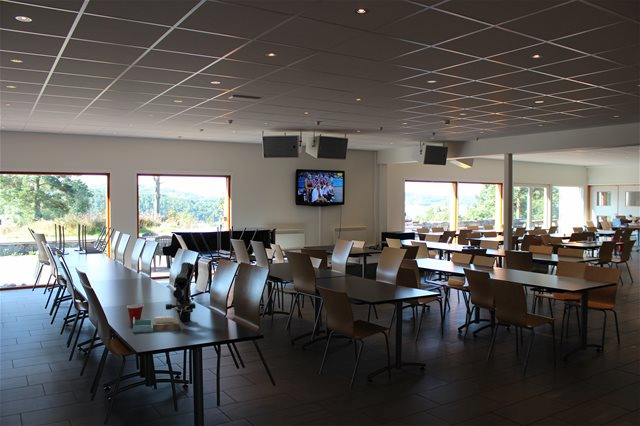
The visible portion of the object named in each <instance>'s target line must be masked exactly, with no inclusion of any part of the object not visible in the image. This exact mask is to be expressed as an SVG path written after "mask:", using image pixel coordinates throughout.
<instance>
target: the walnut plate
mask: <svg viewBox="0 0 640 426" xmlns="http://www.w3.org/2000/svg"><path fill="white" fill-rule="evenodd" d="M151 322H153V332H163V331H164V332H167V331H180V320H179V317H178V318H176V317H175V318H173V319H172V322H165V323H155V318H154V319H152V320H151Z"/></svg>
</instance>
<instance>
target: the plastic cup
mask: <svg viewBox="0 0 640 426" xmlns="http://www.w3.org/2000/svg"><path fill="white" fill-rule="evenodd" d="M144 306H145V305H144V304H141V303H136V304H135V303H134V304H129V305H127V306H126V308H127V310H128V311H127V312H128V317H129V322H130V324H132V325H133V317H135V320H142V319H141V318H142V313H143V308H144Z"/></svg>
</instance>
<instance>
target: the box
mask: <svg viewBox="0 0 640 426" xmlns="http://www.w3.org/2000/svg"><path fill="white" fill-rule="evenodd" d="M152 332H154V331H153V322H152V319H151V318H149V319H140V320H135V317H133V324H132V333H133V334H134V333H152Z"/></svg>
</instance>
